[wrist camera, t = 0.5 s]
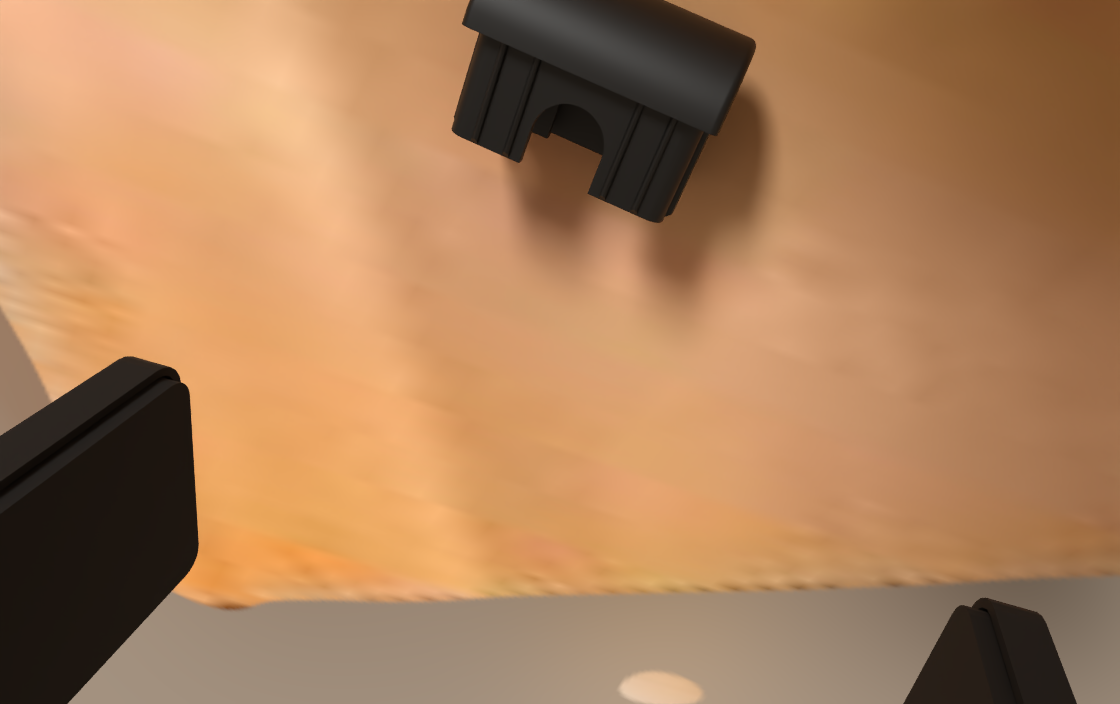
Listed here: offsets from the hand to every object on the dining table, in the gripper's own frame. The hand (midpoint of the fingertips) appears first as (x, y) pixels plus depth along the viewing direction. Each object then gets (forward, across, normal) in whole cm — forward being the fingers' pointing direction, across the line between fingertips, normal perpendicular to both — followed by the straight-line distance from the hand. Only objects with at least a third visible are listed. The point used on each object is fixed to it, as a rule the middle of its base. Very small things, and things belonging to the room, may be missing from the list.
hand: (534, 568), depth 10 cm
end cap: (+30, +4, -1) cm, 30 cm away
